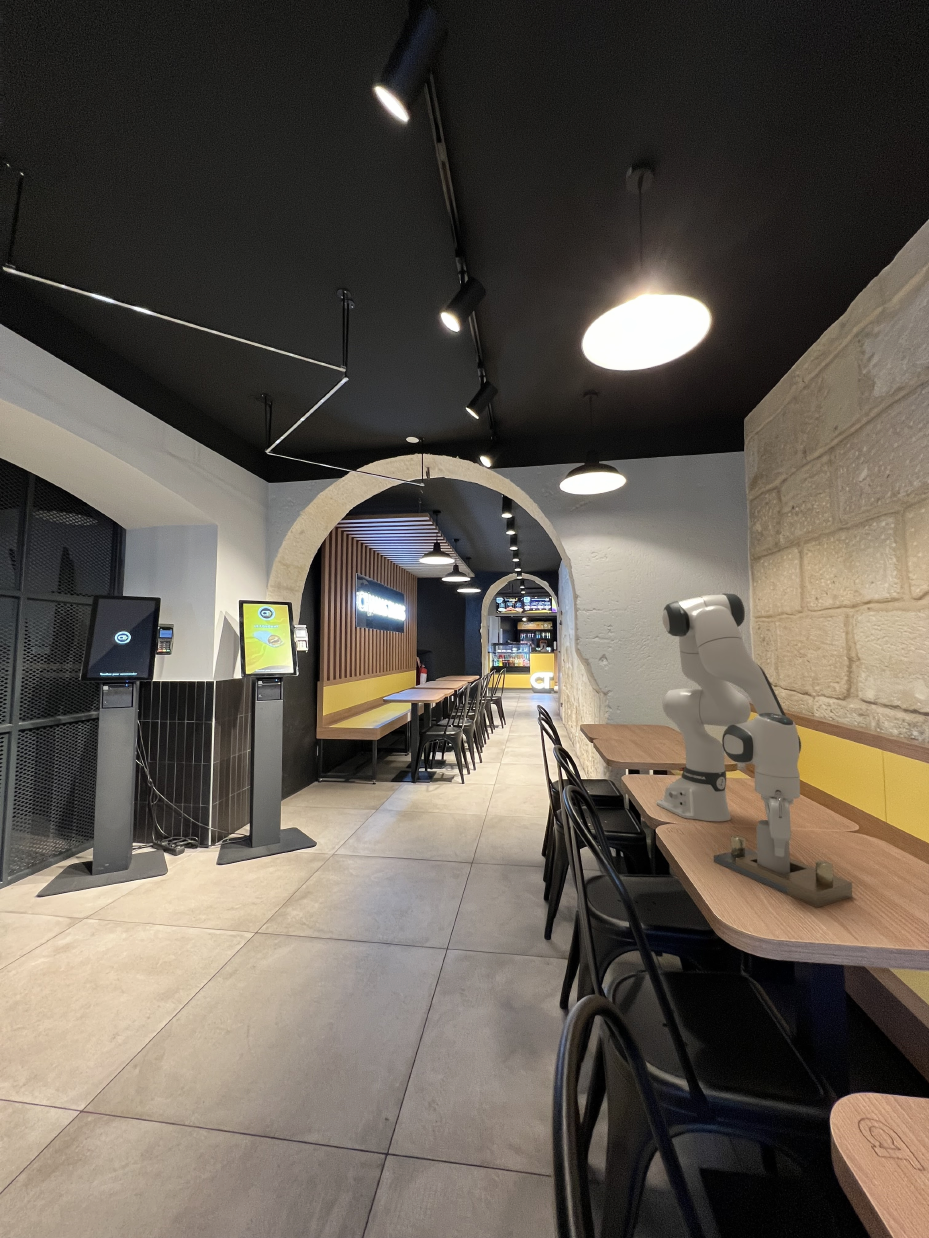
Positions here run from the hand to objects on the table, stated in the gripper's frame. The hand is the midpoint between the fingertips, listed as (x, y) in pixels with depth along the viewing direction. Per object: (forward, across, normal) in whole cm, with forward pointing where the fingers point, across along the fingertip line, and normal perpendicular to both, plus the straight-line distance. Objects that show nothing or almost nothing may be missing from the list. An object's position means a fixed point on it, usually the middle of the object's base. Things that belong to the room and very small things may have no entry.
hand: (777, 848), depth 117 cm
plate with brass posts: (+7, 0, 0) cm, 7 cm away
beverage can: (+7, 0, +1) cm, 7 cm away
